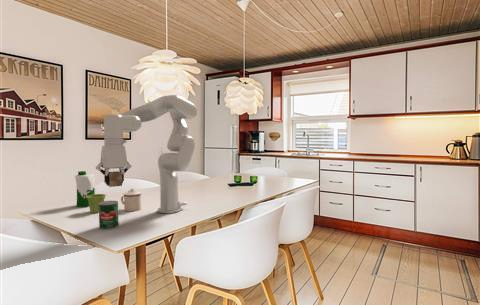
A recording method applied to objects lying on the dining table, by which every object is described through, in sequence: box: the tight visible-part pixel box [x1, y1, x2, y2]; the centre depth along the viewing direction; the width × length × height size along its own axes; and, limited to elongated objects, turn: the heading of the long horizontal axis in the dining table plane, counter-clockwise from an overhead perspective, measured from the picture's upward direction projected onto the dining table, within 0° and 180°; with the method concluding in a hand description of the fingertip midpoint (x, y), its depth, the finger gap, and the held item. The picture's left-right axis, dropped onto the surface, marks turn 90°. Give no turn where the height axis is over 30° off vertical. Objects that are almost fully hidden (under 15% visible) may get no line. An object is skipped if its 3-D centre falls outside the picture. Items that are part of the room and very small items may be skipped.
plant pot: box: [86, 193, 107, 214], centre depth 150 cm, size 9×9×9 cm
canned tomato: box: [98, 200, 120, 231], centre depth 125 cm, size 8×8×11 cm
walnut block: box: [106, 170, 123, 188], centre depth 123 cm, size 5×5×6 cm
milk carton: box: [74, 170, 96, 208], centre depth 164 cm, size 9×9×20 cm
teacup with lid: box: [120, 188, 142, 212], centre depth 155 cm, size 12×9×12 cm
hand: (114, 183), depth 123 cm, fingers closed on walnut block, 5 cm apart
